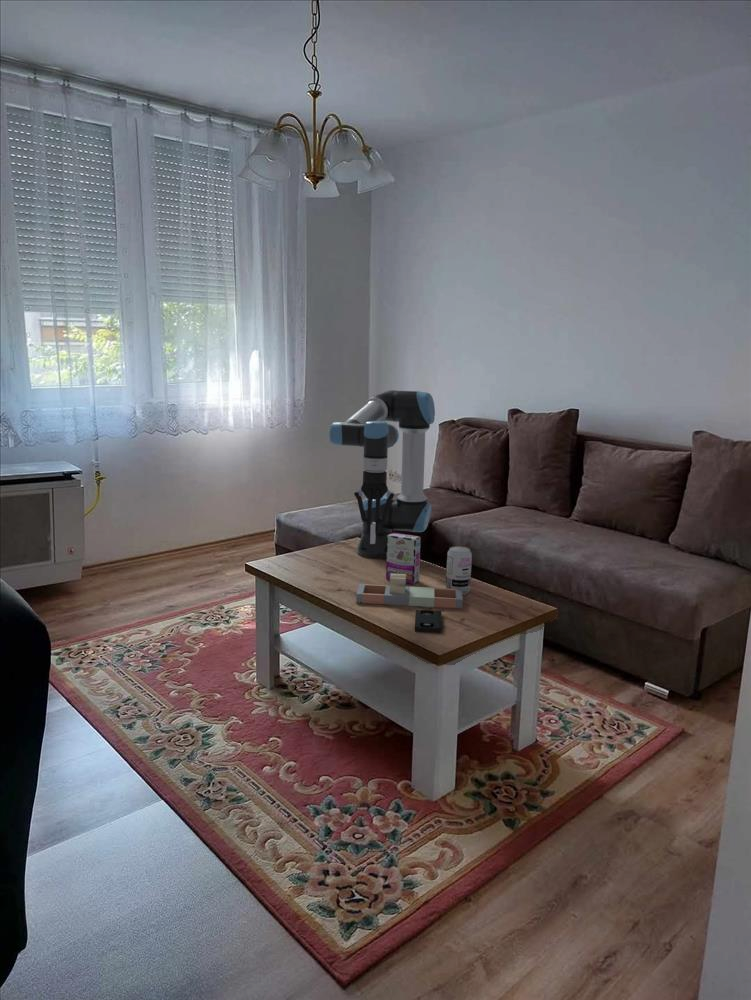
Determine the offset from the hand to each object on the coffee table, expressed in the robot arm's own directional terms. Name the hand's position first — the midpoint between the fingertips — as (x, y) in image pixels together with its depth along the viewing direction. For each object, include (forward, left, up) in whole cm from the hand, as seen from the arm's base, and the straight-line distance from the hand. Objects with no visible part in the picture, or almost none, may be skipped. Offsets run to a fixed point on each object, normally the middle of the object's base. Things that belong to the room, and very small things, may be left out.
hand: (372, 542), depth 232 cm
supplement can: (-11, +29, -19) cm, 36 cm away
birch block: (0, +9, -16) cm, 18 cm away
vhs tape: (+19, +19, -20) cm, 33 cm away
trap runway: (0, +13, -19) cm, 23 cm away
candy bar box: (-20, +9, -19) cm, 29 cm away
